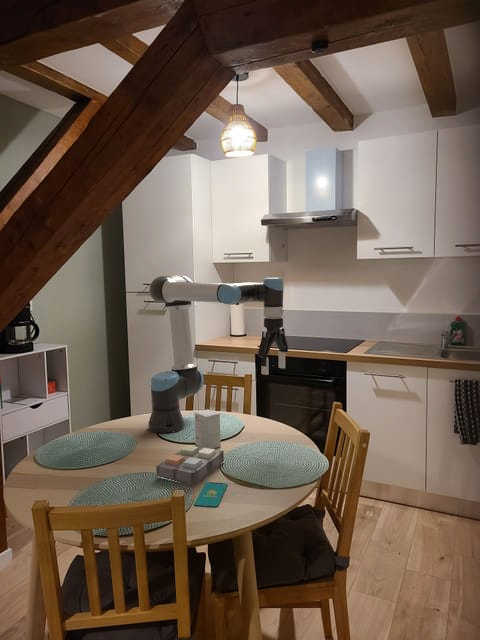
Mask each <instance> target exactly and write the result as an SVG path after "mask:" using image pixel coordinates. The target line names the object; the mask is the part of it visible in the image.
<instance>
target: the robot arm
mask: <svg viewBox="0 0 480 640" xmlns="http://www.w3.org/2000/svg"><path fill="white" fill-rule="evenodd" d="M148 288H149V289H148V292H149V296H150V297H151V299H152V300H153V301H155V302H156V303H158V304H164V307H165V309H167V310H168V313H169V323H170V332H171V334H170V335H171V342H172V343H171V345H172V354H173V365H172V367H171V370H167V371H160V372H157V373H156V374H154V375H153V376H152V377H151V379H150V380H151V384H150V391H151V392H150V393H151V413H150V417H149V420H148V431H150V432H152V433H156V434H167V433H166V432H172V433H174V432H173V431H176V432H178V431H177V430H179V431H181V430H180V429H182V428H183V427H184V428H185V421H184V417H183V415H182V412H181V408H180V400H182V399H186V398H188V397H192V396H195V395H196V394H198V393H199V392H200V391H201V390H202V389H203V387H204V382H205V381H204V374H203V372H202V371H201V370H200V369H199V368H198V365H197V364H196V363H195V361H194V352H193V351H194V350H193V342H192V332H191V331H192V330H191V323H190V322H191V321H190V312H189V311H190V310H189V309H190V307H192V302H199V303H200V302H201V303H202V302H203V303H218V304H219V303H220V304H224V305H234V304H241V303H242V304H243V303H244V304H245V303H250V302H251V303H252V302H254V303H255V302H256V303H263V317H264V318H263V328H266V331H263V330H262V331H261V339H260V344H259V348H258V352H257V356H258V358H260V360H261V361H260V363H261V371H260V372H261V375H266V376H268V375H269V371H270V370H269V368H270V367H269V363H270V362H269V361H270V360H269V357H268V356H269V353H270V350H271V347H272V345H273V344H274V342H275V345H276V346H277V349H278V350H279V351H278V368H280V369H286V353H288V352H289V345H288V341H287V337H286V333H285V328H284V318H283V317H284V284H283V279H282V278H281V277H265V278H264V279H263V282H239V283H219V282H217V283H216V282H193V280H192V279H190V278H189V277H188V276H186V275H162V276H157V277H155V278H154V279H153V280H151V283H150V284H149V287H148ZM184 428H183V429H184ZM183 429H182V430H183ZM158 432H160V433H158Z"/></svg>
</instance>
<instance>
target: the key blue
mask: <svg viewBox="0 0 480 640" xmlns="http://www.w3.org/2000/svg"><path fill="white" fill-rule="evenodd" d="M201 465H202V459H198V458H192V457H190V458H188V459H187V460H185V461H184V462H183V467H187V468H192V469H196V468H198V467H199V466H201Z"/></svg>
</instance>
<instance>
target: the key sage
mask: <svg viewBox="0 0 480 640" xmlns="http://www.w3.org/2000/svg"><path fill="white" fill-rule="evenodd" d="M180 451H181V454H185V455H191V456H193V455H195V454H196V453H197V452H199V446H197V445H189V444H187V445H185V446H184V447H183V448H181V449H180Z"/></svg>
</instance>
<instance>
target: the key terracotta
mask: <svg viewBox="0 0 480 640" xmlns="http://www.w3.org/2000/svg"><path fill="white" fill-rule="evenodd" d="M175 454H176V453H175ZM175 454H174V453H173V454H171V455H169V456H168V457H167V458H166V459H165V460H166V464H170V465H176V466H178V465H180V464H181V463H183V462H184V461H185V456H180V455H175Z"/></svg>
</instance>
